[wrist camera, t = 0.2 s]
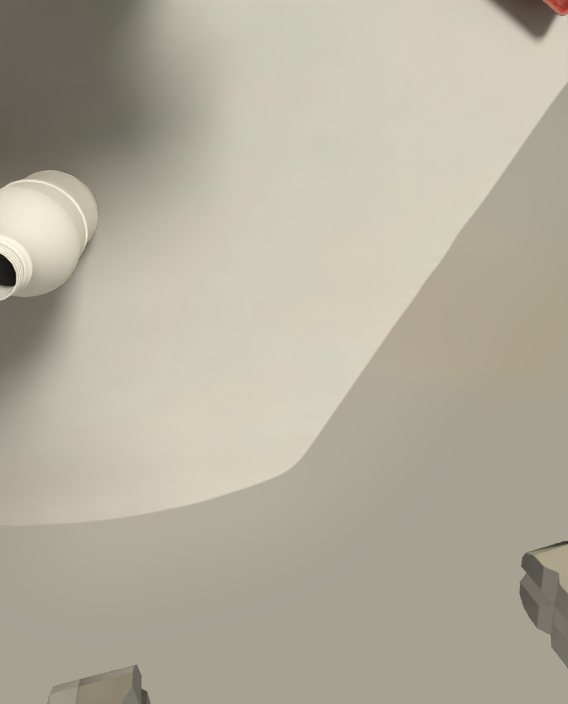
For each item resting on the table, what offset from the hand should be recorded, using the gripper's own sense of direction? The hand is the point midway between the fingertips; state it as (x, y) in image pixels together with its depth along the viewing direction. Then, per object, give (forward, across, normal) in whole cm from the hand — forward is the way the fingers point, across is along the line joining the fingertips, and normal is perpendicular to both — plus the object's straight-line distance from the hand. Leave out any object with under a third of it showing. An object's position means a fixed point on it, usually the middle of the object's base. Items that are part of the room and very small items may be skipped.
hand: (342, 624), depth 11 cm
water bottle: (+48, +12, -3) cm, 49 cm away
